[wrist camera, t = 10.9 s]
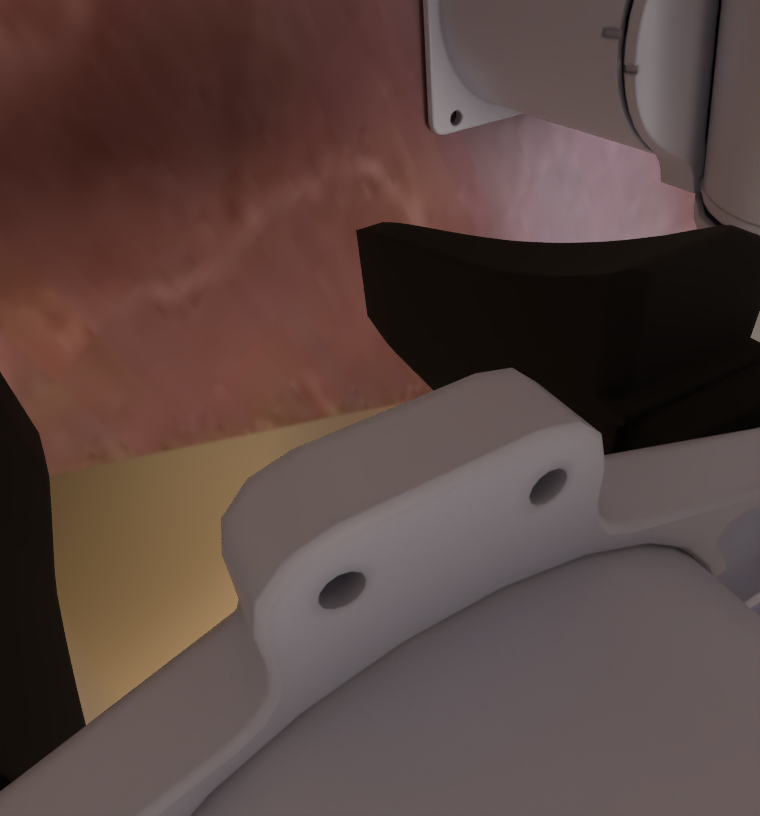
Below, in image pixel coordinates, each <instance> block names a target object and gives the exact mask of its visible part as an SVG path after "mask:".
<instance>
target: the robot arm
mask: <svg viewBox="0 0 760 816" xmlns="http://www.w3.org/2000/svg"><path fill="white" fill-rule="evenodd" d="M423 14H424V36H425V58H426V79H427V101H428V122H429V127H430V129H431V130H432V131H433V132H435V133H437V134H439V135H446V134H449V133H453V132H457V131H460V130H464V129H468V128H472V127H475V126H479V125H483V124H486V123H490V122H494V121H498V120H501V119H505V118H509V117H512V116H516V115H520V114H523V113H524V114H527V115H531V116H534V117H537V118H540V119H544V120H547V121H550V122H553V123H556V124H560V125H563V126H566V127H569V128H573V129H576V130H579V131H582V132H586V133H589V134H592V135H595V136H598V137H602V138H605V139H608V140H611V141H615V142H618V143H621V144H624V145H628V146H631V147H634V148H637V149H640V150H644V151H647V152H650V153H653V154H656V156H657V158H658V160H659V164H660V169H661V182H663V183H666V184H669V185H672V186H675V187H678V188H681V189H683V190H686V191H689V192H692V193H695V194H696V195H695V203H694V220H695V224H696V226H697V230H691V231H686V232H680V233H675V234H669V235H663V236H656V237H647V238H639V239H630V240H620V241H607V242H585V243H542V242H522V241H510V240H501V239H493V238H486V237H478V236H472V235H466V234H460V233H454V232H448V231H443V230H437V229H432V228H426V227H421V226H415V225H409V224H402V223H393V222H382V223H378V224H375V225H372V226H369V227H366V228H362V229H359V230H356V232H357V240H358V247H359V255H360V262H361V270H362V277H363V285H364V292H365V300H366V307H367V315H368V317H369V318H370V320H371V321H372V322H373V324H374V325H375V327H376V328H377V330H378V331H379V333H380V334H381V335H382V337H383V338H384V339H385V341H386V342H387V343H388V345H389V346H390V347H391V348H392V349H393V350H394V351H395V352H396V353H397V354H398V355H399V356H400V357H401V358H402V359H403V360H404V361H405V362H406V363H407V365H408V366H409V367H410V368H411V369H412V370H413V371H414V372H416V373H417V374H418V375H419V376H420V377H421V378H422V379H423V380H424V381H425V382H426V383H427V384H428V385H429V386H430V387H431V388H432V389H433V390H434V391H432V392H429V393H427V394H425V395H422V396H420V397H417V398H415V399H413V400H410V401H408V402H405V403H403V404H401V405H398V406H396V407H393V408H391V409H388V410H387V411H384V412H381V413H379V414H376V415H374V416H372V417H369V418H367V419H364V420H362V421H360V422H357V423H355V424H352V425H350V426H348V427H345V428H343V429H340V430H338V431H336V432H333V433H331V434H328V435H326V436H323V437H321V438H319V439H317V440H314V441H311V442H309V443H307V444H304V445H302V446H299V447H297V448H295V449H292V450H290V451H289V452H287V453H286V454H284V455H283V456H281V457H280V458H279V459H277V460H275V461H274V462H272V463H271V464H269V465H268V466H266V467H265V468H263V469H262V470H260V471H258V472H257V473H255V474H254V475H252V476H251V477H249V478H248V479H247V480H246V482H245V483H244V484H243V486H242V487H241V489H240V491H239V492H238V494H237V495H236V497H235V498H234V500H233V501H232V503H231V504H230V506H229V508H228V509H227V510H226V512H225V514H224V515H223V517H222V519H221V530H222V556H223V559H224V561H225V564H226V566H227V569H228V572H229V574H230V577H231V580H232V582H233V585H234V587H235V590H236V593H237V595H238V599H239V600H238V605H237V608H236V610H235V611H234V612H233V613H232V614H230V615H229V616H228V617H226V618H225V619H224V620H223V621H221V622H220V623H219V624H217V625H216V626H215V627H213V628H212V629H211V630H210V631H208V632H207V633H206V634H204V635H203V636H202V637H200V638H199V639H198V640H197V641H195V642H194V643H193V644H191V645H190V646H189V647H188V648H186V649H185V650H184V651H182V652H181V653H180V654H178V655H177V656H176V657H174V658H173V659H172V660H171V661H169V662H168V663H167V664H166V665H164V666H163V667H161V668H160V669H159V670H158V671H156V672H155V673H154V674H152V675H151V676H150V677H149V678H147V679H146V680H145V681H143V682H142V683H141V684H139V685H138V686H137V687H136V688H134V689H133V690H132V691H130V692H129V693H128V694H127V695H125V696H124V697H122V698H121V699H120V700H119V701H117V702H116V703H115V704H113V705H112V706H111V707H109V708H108V709H107V710H106V711H104V712H103V713H102V714H100V715H99V716H98V717H97V718H95V719H94V720H93V721H91V722H90V723H89V724H87V725H86V724H85V720H84V716H83V712H82V708H81V704H80V700H79V695H78V691H77V688H76V683H75V678H74V674H73V669H72V665H71V661H70V655H69V651H68V647H67V642H66V637H65V632H64V627H63V622H62V617H61V611H60V607H59V601H58V596H57V590H56V580H55V569H54V552H53V534H52V533H53V531H52V514H51V513H52V512H51V497H50V481H49V473H48V469H47V464H46V460H45V455H44V451H43V447H42V443H41V439H40V435H39V433H38V431H37V429H36V428H35V426H34V425H33V423H32V421H31V420H30V418H29V417H28V415H27V414H26V412H25V410H24V409H23V407H22V406H21V404H20V402H19V401H18V399H17V398H16V396H15V395H14V393H13V391H12V390H11V388H10V387H9V385H8V384H7V382H6V380H5V379H4V377H3V376H2V374H1V372H0V816H760V342H758V341H756V340H754V339H752V338H750V337H751V334H752V331H753V328H754V325H755V322H756V320H757V317H758V314H759V311H760V0H423ZM454 111H456V114H457V115H456V119H455V120H454V122H452V123H451V121H450V117H451V114H452V113H453V112H454Z"/></svg>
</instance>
